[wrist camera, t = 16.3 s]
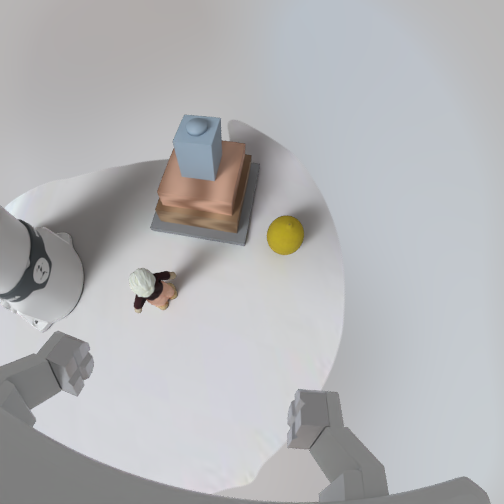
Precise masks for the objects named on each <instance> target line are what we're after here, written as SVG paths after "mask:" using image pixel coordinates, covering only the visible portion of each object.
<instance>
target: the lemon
mask: <svg viewBox="0 0 504 504" xmlns="http://www.w3.org/2000/svg"><path fill="white" fill-rule="evenodd" d="M303 238H304V230H303V227H302V225H301V223H300V222H299V221H298V220H297V219H296V218H294V217H292V216H281V217H278V218H277V219H275V220H274V221H273V222H272V223H271V225H270V226H269V229H268V232H267V241H268V244H269V246H270V248H271V249H272V250H273V251H274V252H276V253H278V254H281V255H288V254H292V253H293V252H295V251H296V250H297V249H298V248H299V247H300V246H301V244H302V242H303Z"/></svg>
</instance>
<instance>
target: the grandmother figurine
mask: <svg viewBox="0 0 504 504" xmlns="http://www.w3.org/2000/svg"><path fill="white" fill-rule="evenodd" d="M175 278H176V274H175V273H174V272H168V271H164V272H160V273H154V274H152V273H151V272H150V271H149V270H147V269H145V268H141V269H137V270H136V271H134V272H133V273H132V274H131V275H130V277H129V284H130V288H131V290H132V291H133V292H134V293H135V294H136V298H135V302H134V308H135V312H136V313H140V312H141V311H142V307H143V305H144V303H145V301H146V300H147V301H148V302H149V303H151V304H152V305H155V306H156V307H158V308H160V309H161V310H165V309H166V308H167V307H168V302H167V300H168V299H175V298H176V297H177V291H176V289H175V286H174V285H173V284H172V283H165V282H164V281H161V280H168V279H175Z"/></svg>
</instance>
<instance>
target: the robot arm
mask: <svg viewBox="0 0 504 504" xmlns="http://www.w3.org/2000/svg"><path fill="white" fill-rule="evenodd" d="M83 279H84V275H83V267H82V263H81V260H80V258H79V256H78V255H77V253H76V252H75V250H74V248H73V244H72V238H71V236H70V235H69V234H68V233H66V232H62V233H53V232H52V231H50V230H49V229H48V228H46V227H42V228H34V227H32V226H31V225H30V224H28V223H26V222H24V221H22V220H19V219H16V218H15V217H14V216H13V215H11V214H10V213H9V212H8V211H6V210H5V209H4V208H3V207H2V206H0V299H1V302H0V305H1V306H3V307H4V308H6V309H10V311H12V312H13V313H17V314H18V315H19V316H21V317H22V318H23V319H24V320H25V321H27V322H28V323H29V324H30V325H32V326H33V327H34V328H35V329H37V330H38V331H41V332H45V331H46V330H47V329H48V328H49V327H50V326H51V324H52V323H54V322H55V321H58V320H60V319H62V318H64V317H65V316H67V315H68V314H69V313H70V312H71V311H72V310H73V308H74V307H75V305H76V304H77V302H78V300H79V297H80V295H81V292H82V287H83ZM37 321H38V323H37ZM89 350H90V347H89V344H88V343H87V342H84V341H82V340H79V339H77V338H75V337H72V336H70V335H67V334H65V333H62V332H60V331H57V332H55V333H54V334H53V335H52V336H51V337H50V338H49V340H48V341H47V342H46V343H45V344H44V346H43V347H42V348H41V349H40V350H39V352H38V353H37V354H31V355H29V356H26V357H24V358H21V359H18V360H16V361H13V362H11V363H8V364H6V365H3V366H1V367H0V504H490V500H489V497H488V495H487V493H486V492H485V491H484V490H483V489H482V488H481V487H479V486H478V485H477V484H476V483H474V482H473V481H472V480H470V479H469V478H467V477H459V478H455V479H452V480H449V481H446V482H442V483H439V484H435V485H432V486H428V487H424V488H420V489H416V490H412V491H407V492H402V493H397V494H392V495H389V493H388V487H387V481H386V475H385V470H384V466H383V465H382V464H381V463H380V462H379V461H378V460H377V459H376V457H375V456H374V455H373V454H372V453H371V452H370V451H369V450H368V449H367V448H366V447H365V446H364V445H363V443H362V442H361V441H360V440H359V439H358V438H357V437H356V436H355V435H354V434H353V433H352V432H351V430H350V429H349V428H348V427H344V424H343V417H342V411H341V405H340V399H339V394H338V393H337V392H328V391H317V390H303V389H298V390H297V391H296V393H295V400H294V401H292V402H291V405H290V407H289V411H288V425H289V426H290V430H289V431H288V433H287V444H288V445H287V447H288V448H296V449H310V450H309V451H310V453H311V454H312V456H313V457H314V459H315V460H316V462H317V463H318V465H319V466H320V468H321V469H322V471H323V472H324V474H325V475H326V477H327V478H328V480H329V481H330V483H331V484H330V485H329V486H327V487H326V488H325V489H324V490H323V491H321V492H320V493H319V502H304V503H303V502H271V501H258V500H247V499H239V498H230V497H224V496H218V495H212V494H206V493H201V492H196V491H192V490H187V489H183V488H178V487H174V486H170V485H167V484H163V483H159V482H156V481H152V480H149V479H146V478H143V477H140V476H137V475H134V474H131V473H128V472H125V471H122V470H120V469H117V468H114V467H112V466H109V465H107V464H104V463H102V462H99V461H97V460H95V459H92V458H90V457H88V456H86V455H83V454H81V453H79V452H77V451H75V450H73V449H71V448H69V447H67V446H65V445H63V444H61V443H59V442H57V441H55V440H54V439H52V438H50V437H48V436H46V435H45V434H43V433H41V432H39V431H38V430H36V429H34V428H33V425H34V424H35V422H36V418H35V416H34V415H33V414H32V412H31V411H30V410H31V409H32V408H34V407H36V406H37V405H39V404H41V403H42V402H44V401H45V400H47V399H49V398H50V397H52V396H54V395H55V394H57V393H59V392H60V391H61V390H63V391H65V392H68V393H70V394H72V395H75V396H77V397H78V395H79V393H80V392H81V390H82V388H83V387H84V380H85V379H87V378H89V377H90V375H91V373H92V371H93V367H94V361H93V357H92V356H91V354H90V353H89Z"/></svg>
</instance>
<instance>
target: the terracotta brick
mask: <svg viewBox="0 0 504 504" xmlns="http://www.w3.org/2000/svg"><path fill="white" fill-rule="evenodd" d="M250 167H251V155H246V154H245V144H244V143H237V142H230V141H222V157H221V161H220V164H219V168H218V171H217V175H216V179H215V181H210V180H203V179H195V178H187V177H182V176H181V172H180V168H179V164H178V161H177V157H176V153H175V149H173V151H172V154H171V156H170V159H169V161H168V164H167V167H166V169H165V172H164V174H163V177H162V180H161V183H160V185H159V188H158V191H157V193H158V195H159V200H158V203H157V206H156V209H155V210H156V212H157V214H158V216H159V218H160V220H161V221H164V222H170V223H176V224H183V225H189V226H195V227H201V228H207V229H213V230H219V231H225V232H231V233H237V231H238V226H239V221H240V216H241V211H242V207H243V202H244V197H245V192H246V187H247V183H248V178H249V173H250Z"/></svg>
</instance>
